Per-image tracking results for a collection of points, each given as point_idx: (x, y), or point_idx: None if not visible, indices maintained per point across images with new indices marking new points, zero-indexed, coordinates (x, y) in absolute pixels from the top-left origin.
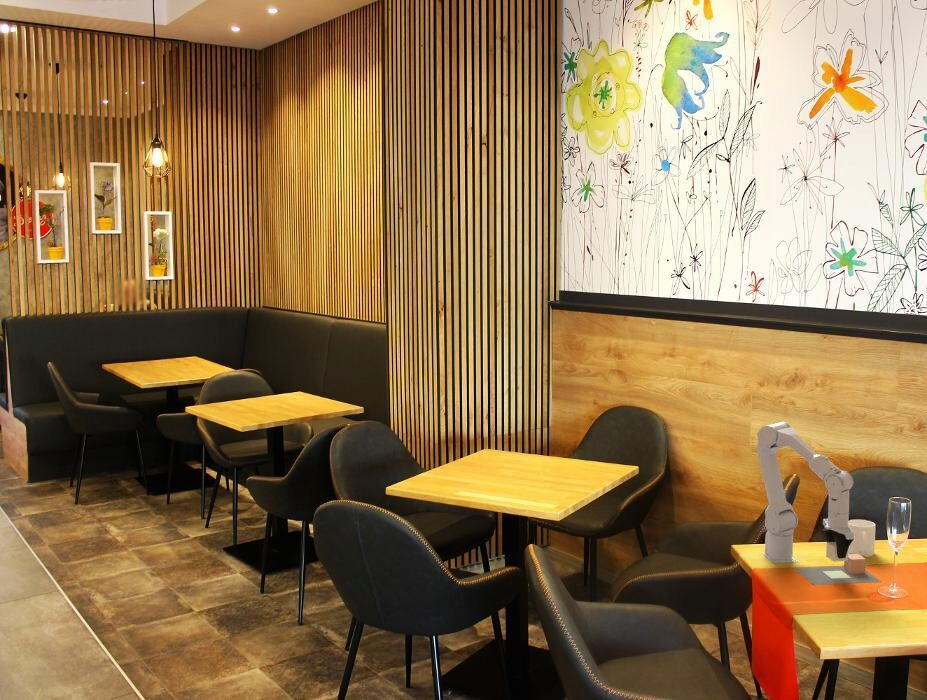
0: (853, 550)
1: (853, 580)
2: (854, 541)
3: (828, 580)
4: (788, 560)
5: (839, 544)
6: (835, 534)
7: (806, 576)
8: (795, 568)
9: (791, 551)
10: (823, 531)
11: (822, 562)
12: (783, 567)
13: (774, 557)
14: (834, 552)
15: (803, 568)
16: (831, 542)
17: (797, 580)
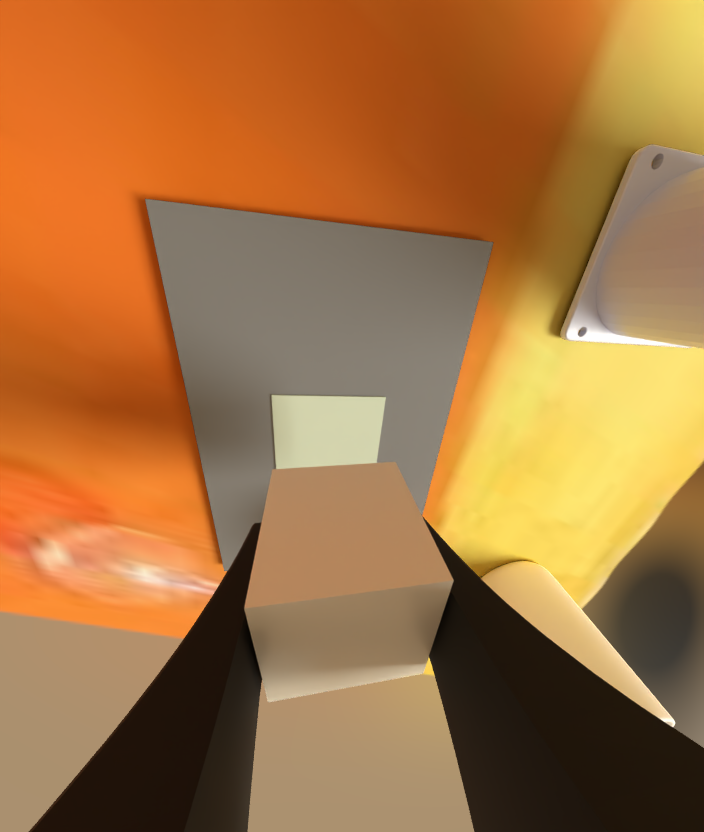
0: (512, 586)
1: (240, 484)
2: (538, 629)
3: (242, 363)
4: (600, 283)
5: (108, 748)
6: (487, 785)
7: (331, 249)
8: (483, 256)
9: (661, 314)
10: (683, 782)
11: (502, 454)
12: (549, 195)
13: (692, 173)
14: (260, 541)
15: (463, 313)
16: (428, 617)
17: (294, 137)
